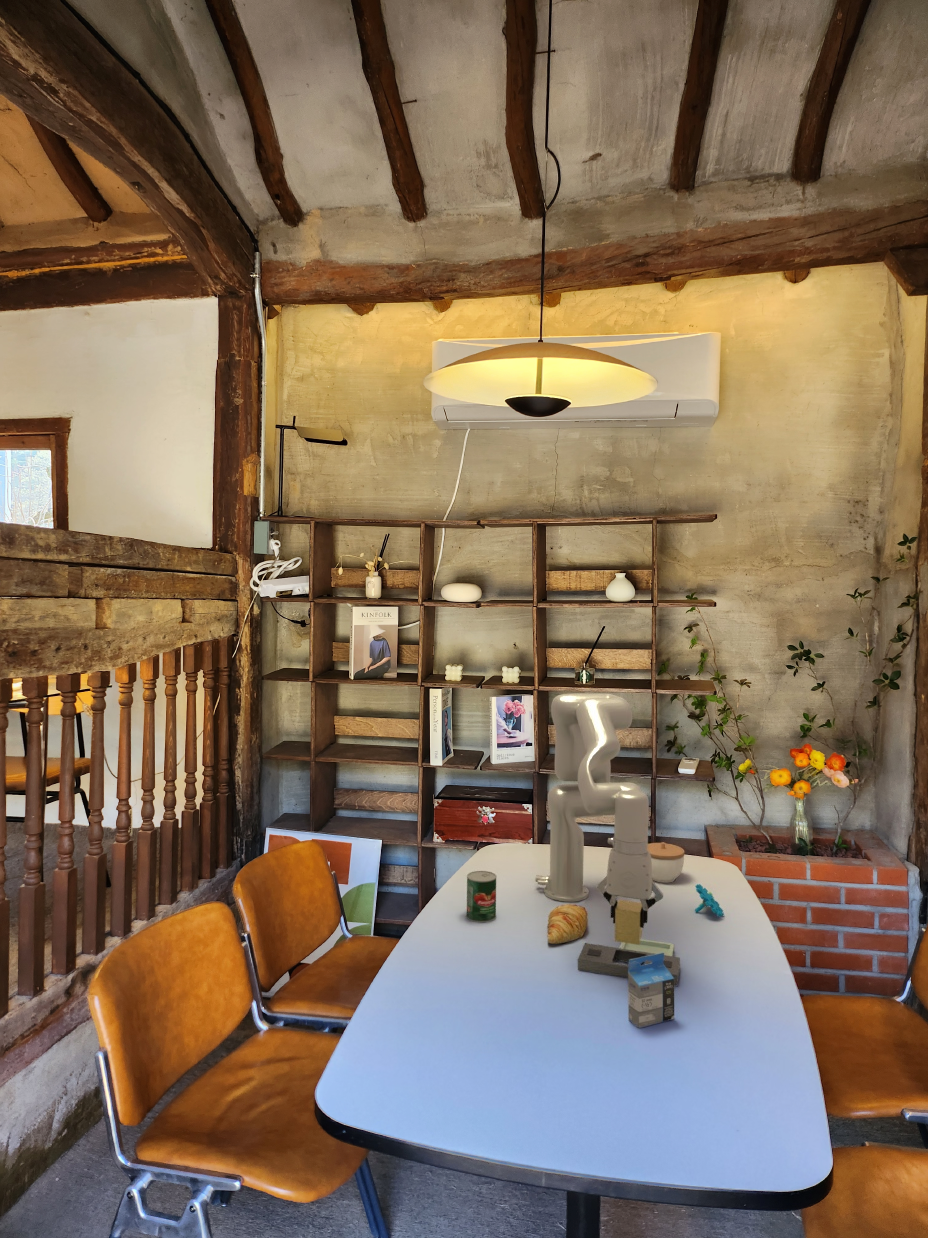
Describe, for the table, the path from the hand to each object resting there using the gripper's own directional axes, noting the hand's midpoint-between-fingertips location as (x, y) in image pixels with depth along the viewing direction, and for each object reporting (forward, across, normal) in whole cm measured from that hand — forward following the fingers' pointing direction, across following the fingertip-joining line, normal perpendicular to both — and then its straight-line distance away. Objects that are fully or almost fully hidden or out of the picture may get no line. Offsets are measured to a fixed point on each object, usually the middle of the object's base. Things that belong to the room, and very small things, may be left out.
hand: (628, 922), depth 180 cm
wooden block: (+4, 0, 0) cm, 4 cm away
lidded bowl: (+12, +2, +63) cm, 64 cm away
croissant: (+11, -17, +15) cm, 26 cm away
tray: (+11, +3, +9) cm, 14 cm away
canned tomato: (+12, -41, +16) cm, 45 cm away
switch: (+11, 0, -1) cm, 11 cm away
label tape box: (+10, +7, -21) cm, 25 cm away
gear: (+11, +17, +40) cm, 45 cm away
